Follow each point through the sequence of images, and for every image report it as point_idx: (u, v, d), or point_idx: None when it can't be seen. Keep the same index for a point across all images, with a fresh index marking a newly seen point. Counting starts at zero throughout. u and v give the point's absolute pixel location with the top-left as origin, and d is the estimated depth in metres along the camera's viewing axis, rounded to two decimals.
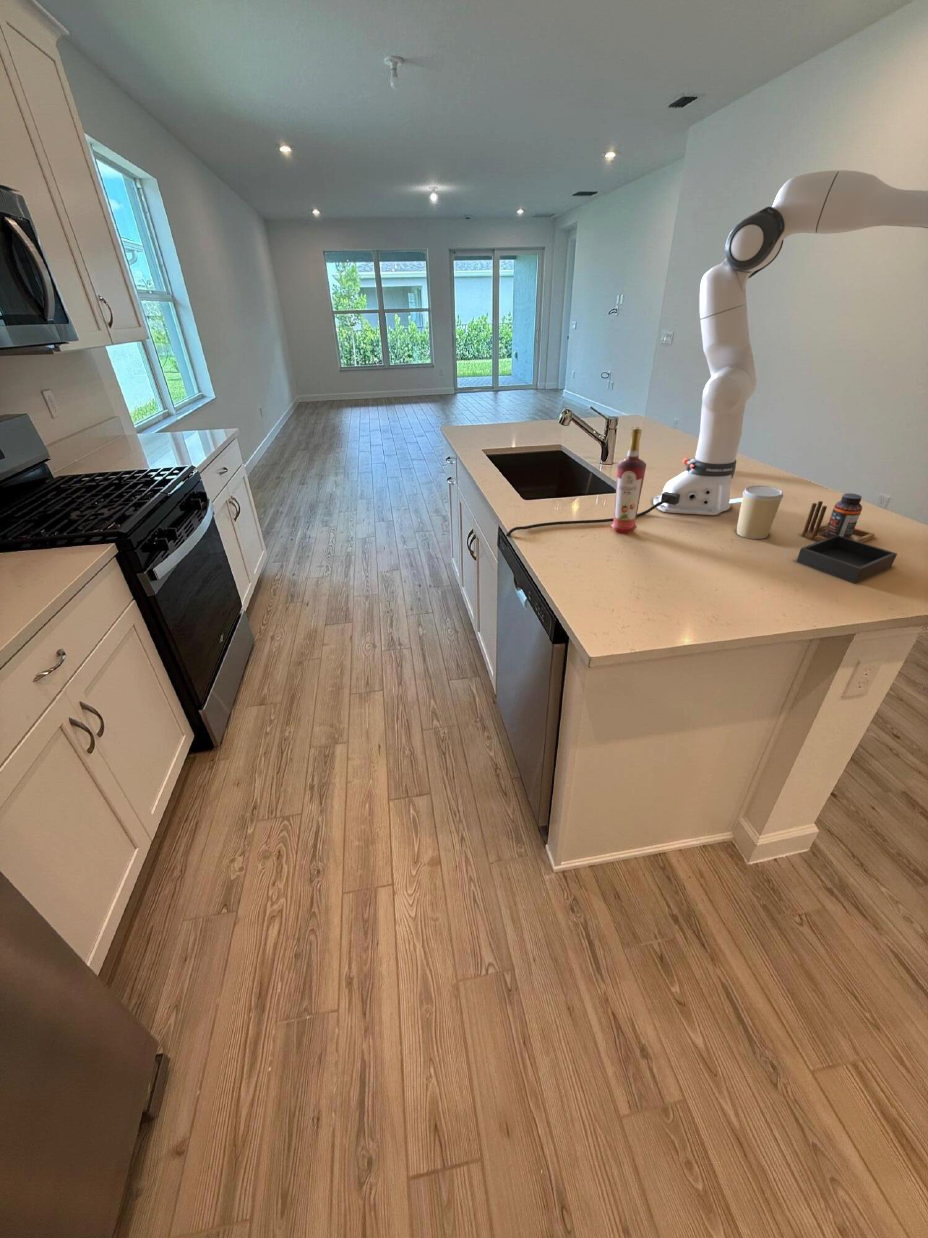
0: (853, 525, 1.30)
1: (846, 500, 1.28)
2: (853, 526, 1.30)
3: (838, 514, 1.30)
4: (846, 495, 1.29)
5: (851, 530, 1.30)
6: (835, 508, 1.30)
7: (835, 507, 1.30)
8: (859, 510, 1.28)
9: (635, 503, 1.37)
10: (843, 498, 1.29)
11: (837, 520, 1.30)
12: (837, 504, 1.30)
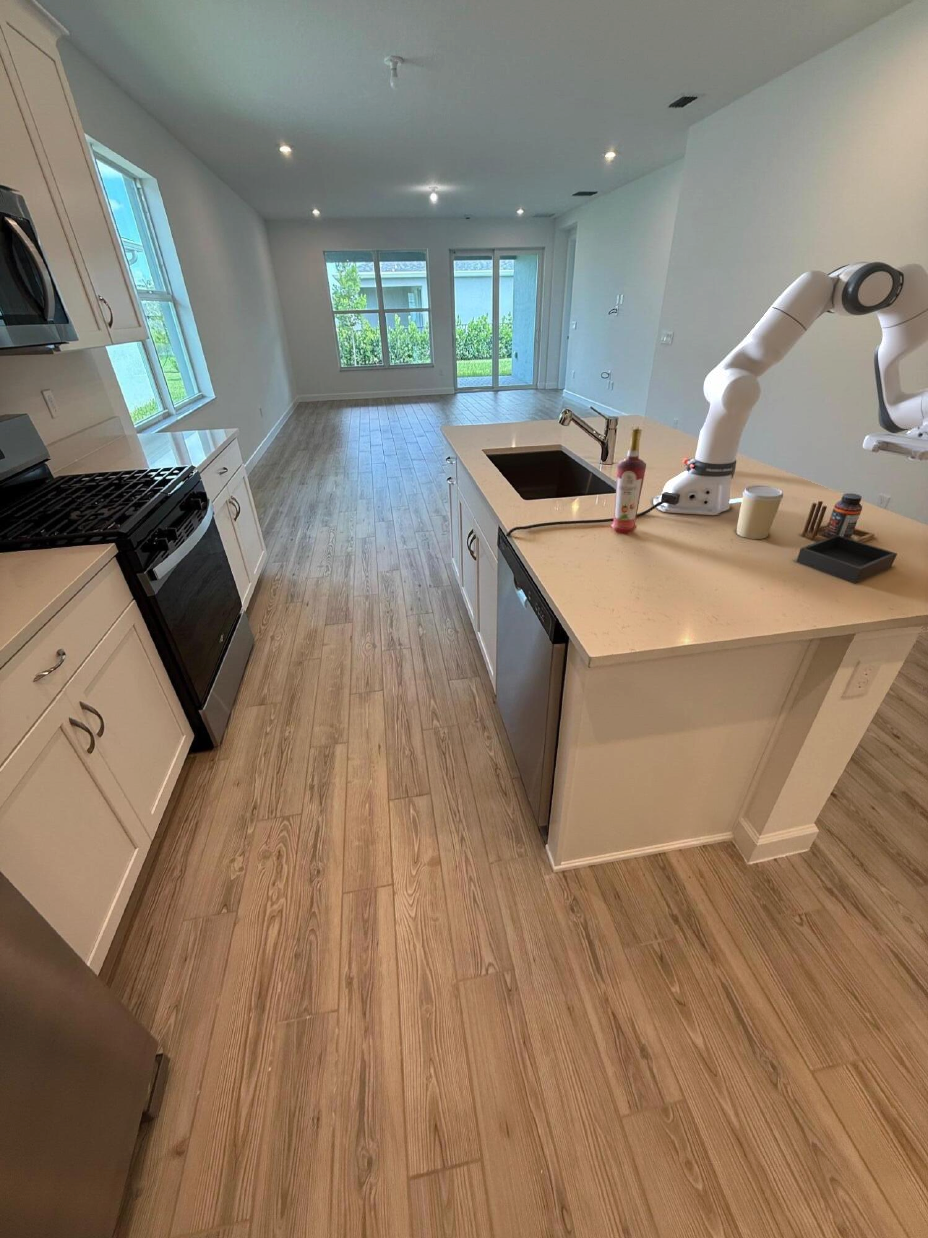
0: (853, 525, 1.30)
1: (846, 500, 1.28)
2: (853, 526, 1.30)
3: (838, 514, 1.30)
4: (846, 495, 1.29)
5: (851, 530, 1.30)
6: (835, 508, 1.30)
7: (835, 507, 1.30)
8: (859, 510, 1.28)
9: (635, 503, 1.37)
10: (843, 498, 1.29)
11: (837, 520, 1.30)
12: (837, 504, 1.30)
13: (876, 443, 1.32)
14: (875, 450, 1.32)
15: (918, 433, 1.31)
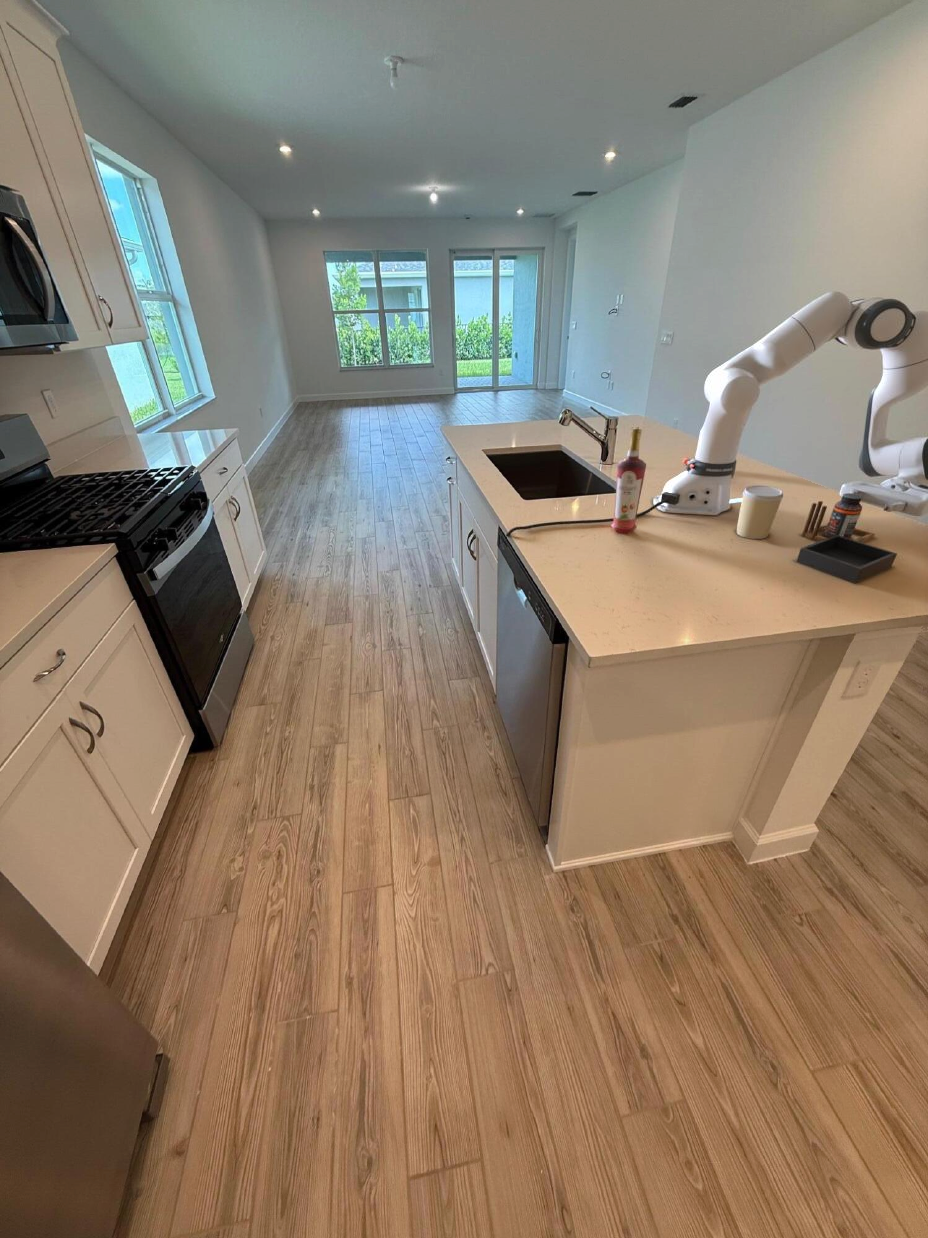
0: (853, 525, 1.30)
1: (846, 500, 1.28)
2: (853, 526, 1.30)
3: (838, 514, 1.30)
4: (846, 495, 1.29)
5: (851, 530, 1.30)
6: (835, 508, 1.30)
7: (835, 507, 1.30)
8: (859, 510, 1.28)
9: (635, 503, 1.37)
10: (843, 498, 1.29)
11: (837, 520, 1.30)
12: (837, 504, 1.30)
13: (852, 493, 1.39)
14: None
15: (891, 485, 1.37)
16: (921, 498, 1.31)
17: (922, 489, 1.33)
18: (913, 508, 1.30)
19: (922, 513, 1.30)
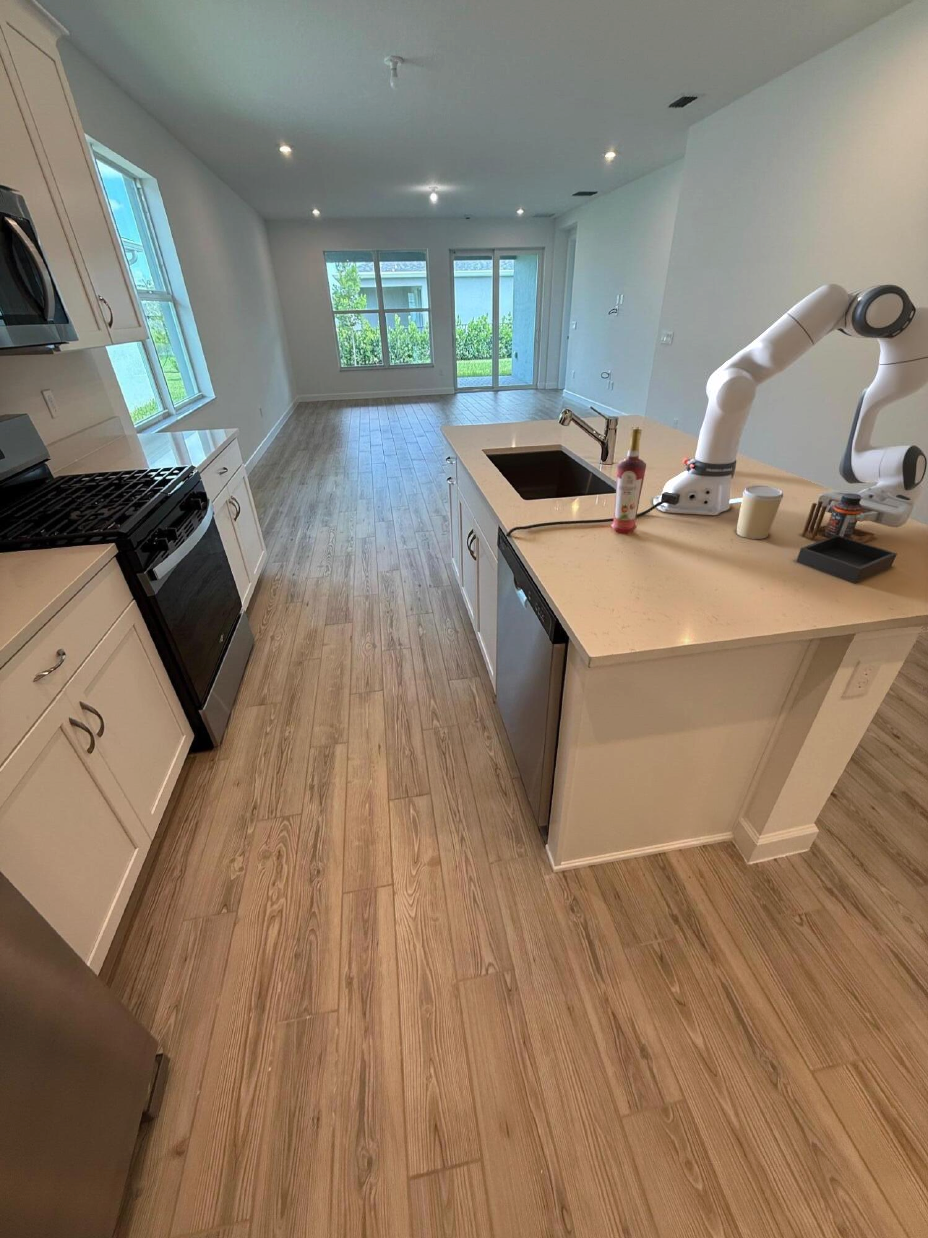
0: (853, 525, 1.30)
1: (846, 499, 1.28)
2: (853, 526, 1.30)
3: (837, 514, 1.30)
4: (846, 495, 1.29)
5: (851, 530, 1.30)
6: (835, 508, 1.30)
7: (835, 507, 1.30)
8: (859, 510, 1.28)
9: (635, 503, 1.37)
10: (843, 498, 1.29)
11: (837, 520, 1.30)
12: (837, 504, 1.30)
13: (832, 504, 1.34)
14: (831, 511, 1.33)
15: (868, 494, 1.33)
16: (898, 509, 1.27)
17: (900, 499, 1.29)
18: (890, 519, 1.26)
19: (899, 524, 1.26)
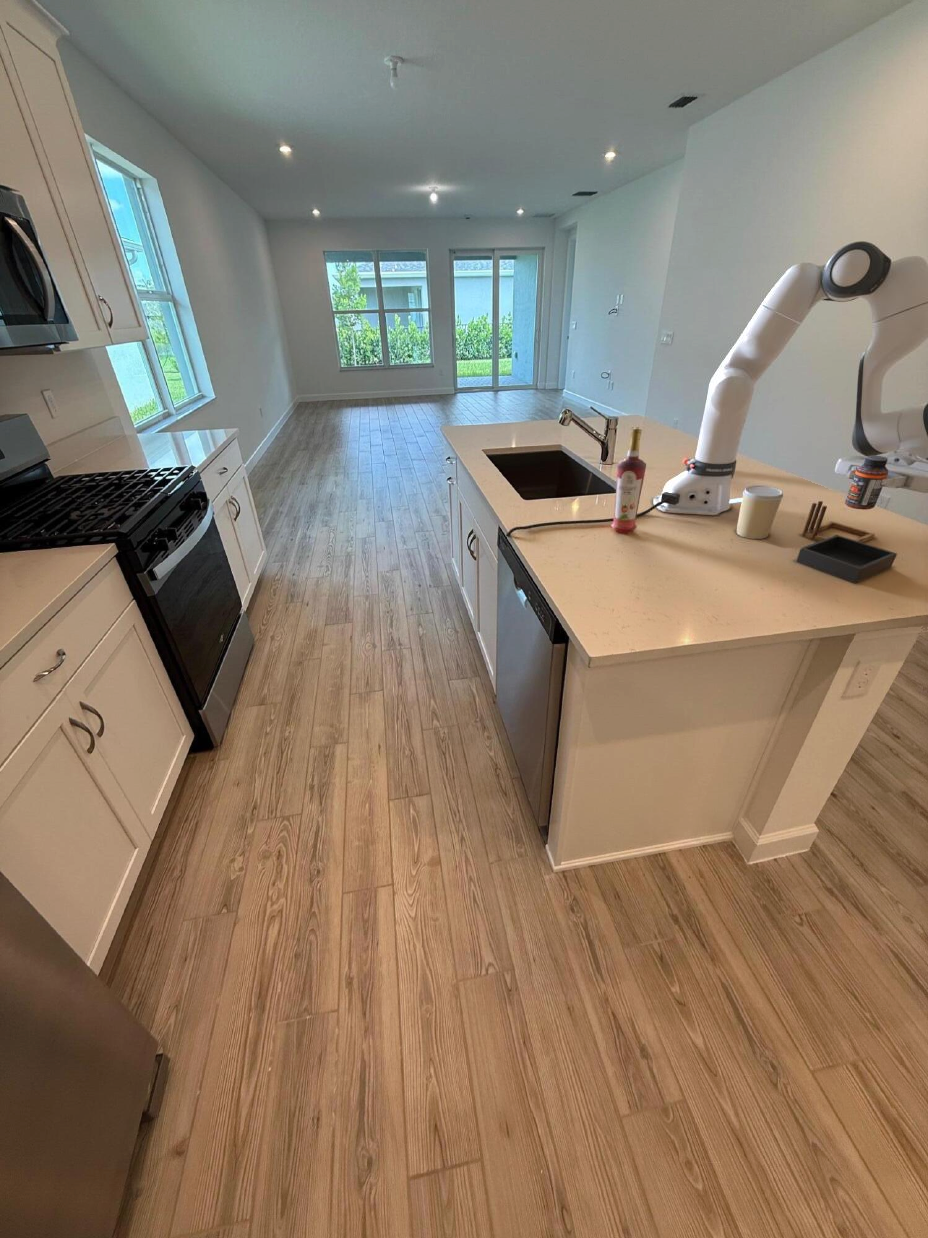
0: (878, 491, 1.15)
1: (870, 462, 1.13)
2: (878, 493, 1.15)
3: (860, 479, 1.15)
4: (870, 457, 1.14)
5: (875, 497, 1.16)
6: (857, 473, 1.16)
7: (857, 471, 1.16)
8: (885, 474, 1.13)
9: (635, 503, 1.37)
10: (866, 461, 1.14)
11: (859, 486, 1.15)
12: (859, 468, 1.15)
13: (854, 469, 1.19)
14: (852, 477, 1.18)
15: (894, 458, 1.19)
16: None
17: None
18: (920, 484, 1.11)
19: None
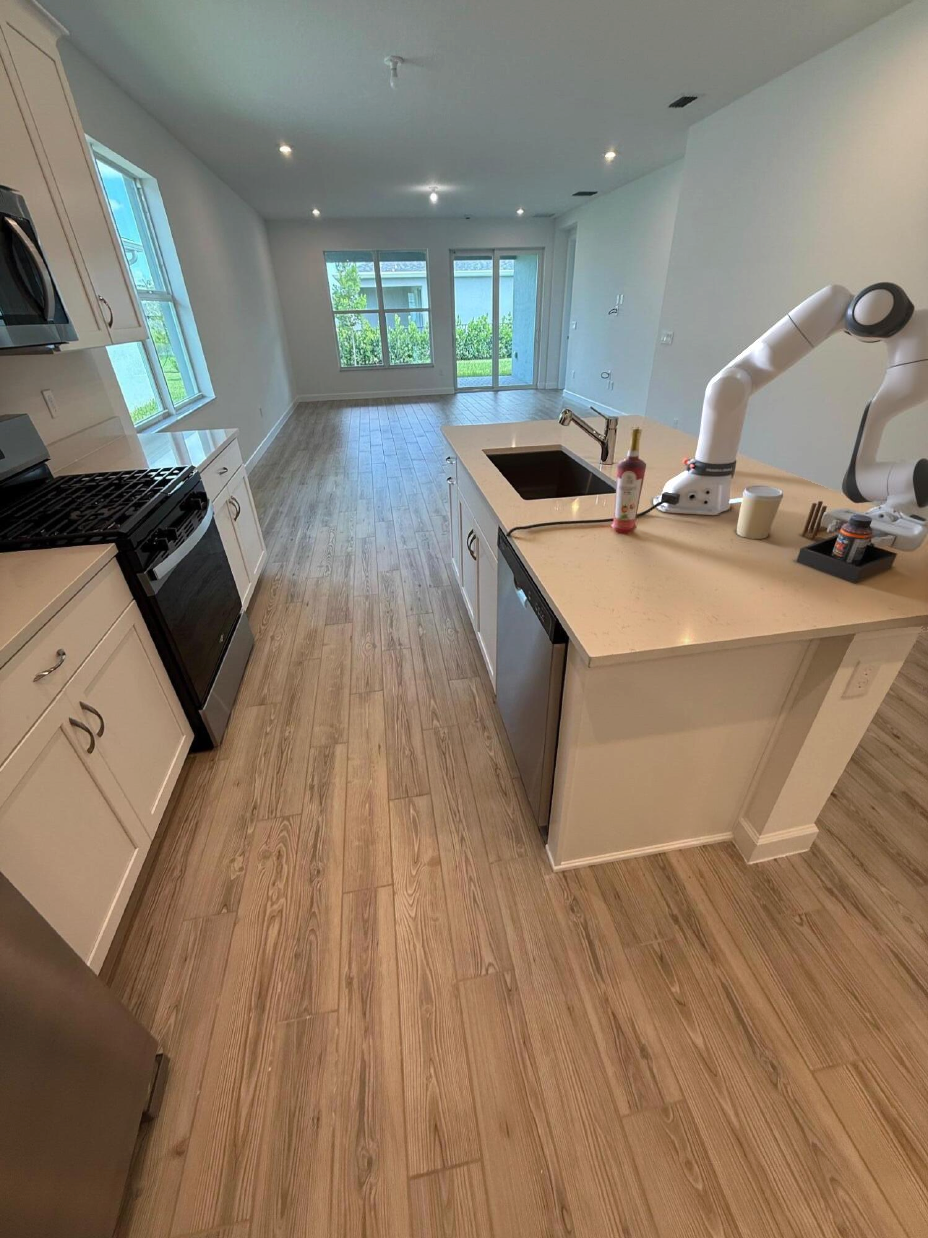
0: (862, 550, 1.16)
1: (855, 522, 1.14)
2: (862, 551, 1.16)
3: (845, 537, 1.16)
4: (855, 517, 1.15)
5: (860, 555, 1.17)
6: (842, 531, 1.17)
7: (842, 530, 1.17)
8: (869, 534, 1.14)
9: (635, 503, 1.37)
10: (851, 520, 1.15)
11: (844, 544, 1.17)
12: (844, 526, 1.16)
13: (834, 523, 1.21)
14: (832, 531, 1.20)
15: (879, 514, 1.20)
16: (912, 531, 1.13)
17: (914, 520, 1.15)
18: (903, 543, 1.12)
19: (914, 548, 1.12)
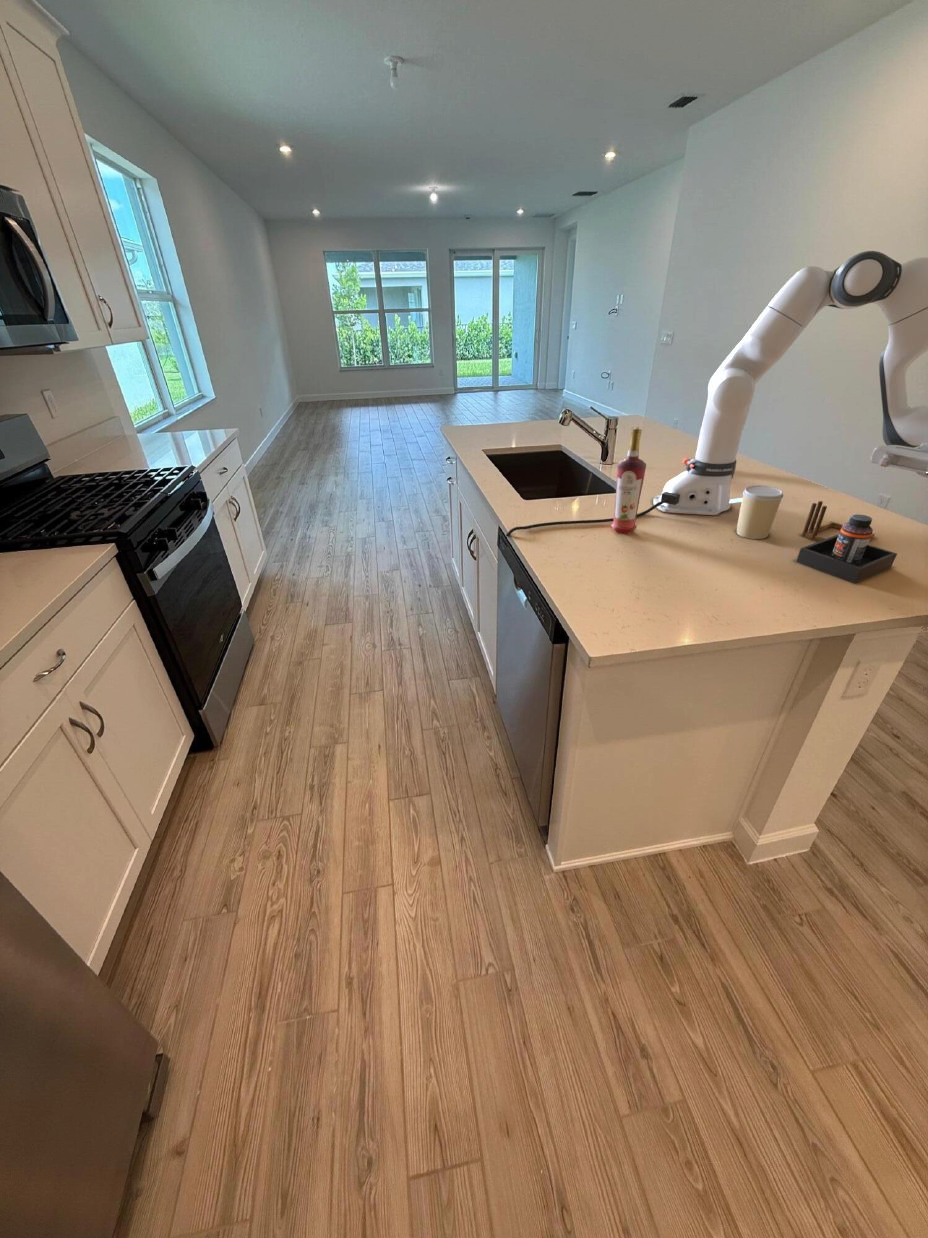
0: (862, 550, 1.16)
1: (855, 522, 1.14)
2: (862, 551, 1.16)
3: (845, 537, 1.16)
4: (855, 517, 1.15)
5: (860, 555, 1.17)
6: (842, 531, 1.17)
7: (842, 530, 1.17)
8: (869, 534, 1.14)
9: (635, 503, 1.37)
10: (851, 520, 1.15)
11: (844, 544, 1.17)
12: (844, 526, 1.16)
13: (886, 456, 1.19)
14: (885, 464, 1.18)
15: None
16: None
17: None
18: None
19: None
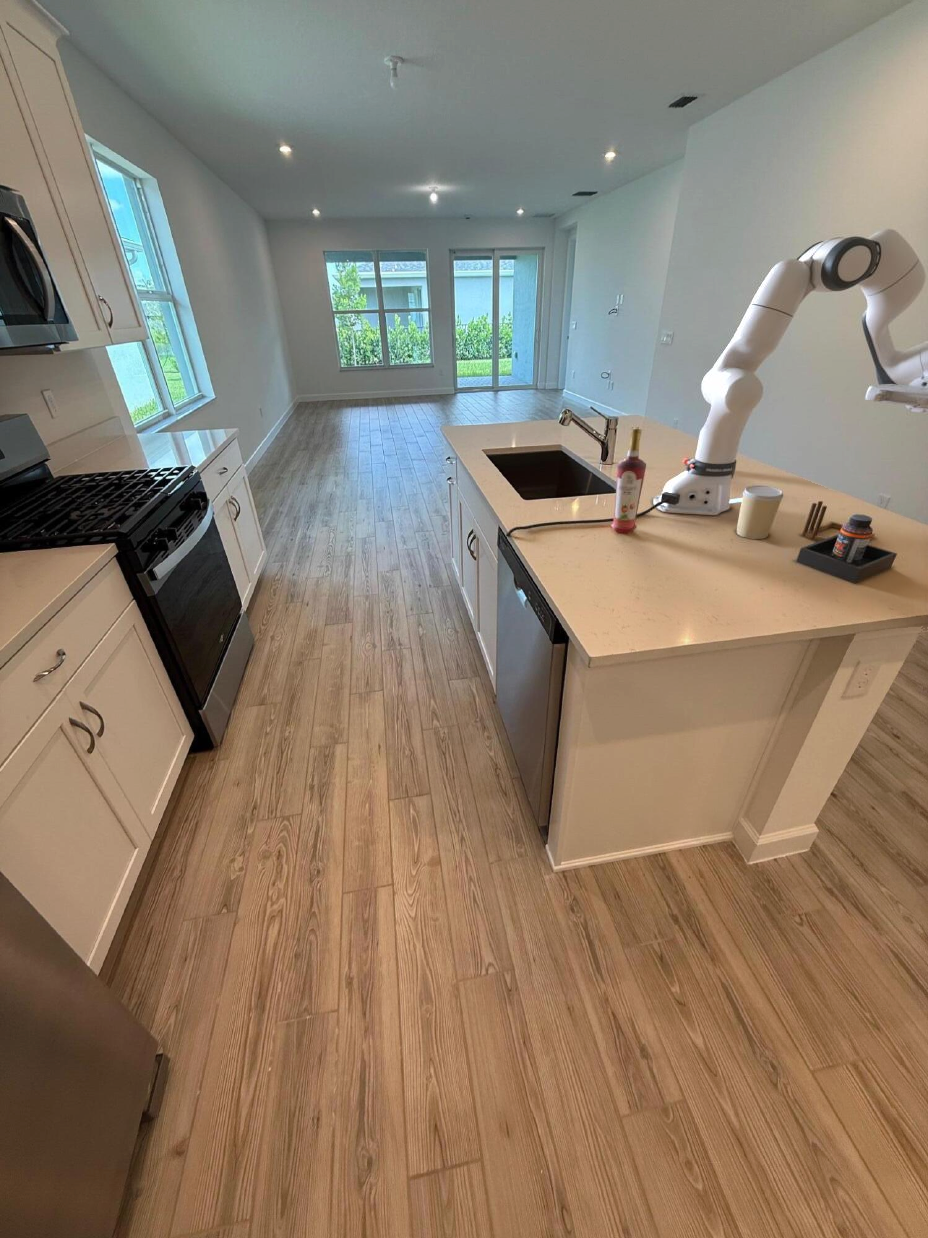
0: (862, 550, 1.16)
1: (855, 522, 1.14)
2: (862, 551, 1.16)
3: (845, 537, 1.16)
4: (855, 517, 1.15)
5: (860, 555, 1.17)
6: (842, 531, 1.17)
7: (842, 530, 1.17)
8: (869, 534, 1.14)
9: (635, 503, 1.37)
10: (851, 520, 1.15)
11: (844, 544, 1.17)
12: (844, 526, 1.16)
13: (880, 392, 1.30)
14: (879, 399, 1.29)
15: (922, 382, 1.28)
16: None
17: None
18: None
19: None
